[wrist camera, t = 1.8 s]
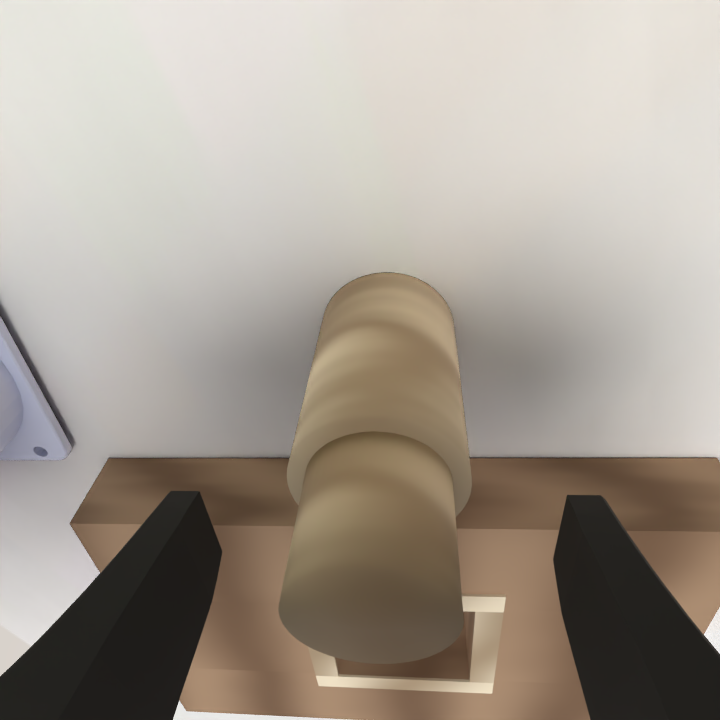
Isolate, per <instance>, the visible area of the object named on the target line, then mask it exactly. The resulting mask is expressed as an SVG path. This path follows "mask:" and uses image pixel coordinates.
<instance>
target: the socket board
mask: <svg viewBox="0 0 720 720" xmlns="http://www.w3.org/2000/svg"><path fill="white" fill-rule="evenodd" d="M288 463H289V458H108V460H107V462H106V463H105V465H104V467H103V469H102V470H101V472H100V474H99V475H98V477H97V479H96V480H95V482H94V484H93V485H92V487H91V489H90V490H89V492H88V494H87V495H86V497H85V499H84V500H83V502H82V504H81V505H80V507H79V509H78V510H77V512H76V514H75V515H74V517H73V519H72V520H71V522H70V525H71V527H72V528H73V530H74V531H75V533H76V535H77V536H78V538H79V539H80V541H81V543H82V544H83V546H84V547H85V549H86V551H87V552H88V554H89V555H90V557H91V559H92V560H93V562H94V563H95V565H96V567H97V568H98V570H99V571H100V573H101V572H102V571H103V570H104V568H105V567H106V566H107V565H108V564H109V563H110V562H111V560H112V559H113V558H114V557H115V556H116V555H117V554H118V552H119V551H120V550H121V549H122V548H123V546H124V545H125V544H126V543H127V542H128V541H129V539H130V538H131V537H132V536H133V535H134V534H135V532H136V531H137V530H138V529H139V528H140V526H141V525H142V524H143V523H144V522H145V520H146V519H147V518H148V517H149V516H150V514H151V513H152V512H153V511H154V510H155V508H156V507H157V506H158V505H159V504H160V502H161V501H162V500H163V499H164V498H165V497H166V495H167V494H168V493H169V492H170V491H200V494H201V496H202V499H203V501H204V504H205V507H206V509H207V512H208V515H209V517H210V520H211V523H212V525H213V528H214V530H215V533H216V536H217V538H218V541H219V544H220V546H221V549H222V557H221V562H220V567H219V572H218V577H217V582H216V586H215V591H214V595H213V600H212V603H211V606H210V610H209V613H208V616H207V619H206V622H205V625H204V628H203V631H202V634H201V637H200V640H199V643H198V646H197V649H196V652H195V655H194V658H193V661H192V664H191V667H190V670H189V673H188V675H187V678H186V681H185V684H184V687H183V690H182V693H181V696H180V699H179V700H180V701H181V703H182V705H183V706H184V708H185V709H186V711H194V712H214V713H234V714H254V715H274V716H294V717H313V718H333V719H353V720H590V716H589V712H588V709H587V705H586V701H585V698H584V694H583V691H582V687H581V683H580V680H579V676H578V672H577V669H576V665H575V661H574V658H573V654H572V650H571V647H570V643H569V639H568V636H567V632H566V628H565V624H564V621H563V617H562V613H561V607H560V601H559V595H558V589H557V583H556V576H555V570H554V563H553V556H554V552H555V547H556V543H557V538H558V534H559V529H560V524H561V520H562V515H563V511H564V506H565V502H566V497H567V495H601V496H602V497H603V498H604V499H606V501H607V502H608V504H609V506H610V507H611V509H612V510H613V512H614V513H615V515H616V516H617V518H618V519H619V521H620V522H621V524H622V525H623V527H624V528H625V530H626V531H627V533H628V534H629V536H630V537H631V539H632V540H633V541H634V543H635V544H636V546H637V547H638V549H639V550H640V551H641V553H642V554H643V556H644V557H645V559H646V560H647V561H648V563H649V564H650V566H651V567H652V568H653V570H654V571H655V572H656V574H657V575H658V576H659V578H660V579H661V581H662V582H663V583H664V585H665V586H666V587H667V588H668V590H669V591H670V592H671V594H672V595H673V596H674V598H675V599H676V600H677V601H678V603H679V604H680V605H681V607H682V608H683V609H684V611H685V612H686V613H687V614H688V616H689V617H690V618H691V620H692V621H693V622H694V623H695V625H696V626H697V627H698V628H699V630H700V631H701V632H702V633H703V635H704V633H705V631H706V630H707V628H708V626H709V624H710V623H711V621H712V619H713V617H714V616H715V614H716V612H717V610H718V609H719V607H720V462H719V461H718V459H717V458H470V467H471V476H472V488H471V494H470V497H469V499H468V502H467V503H466V505H465V507H464V508H463V510H462V511H461V512H460V513H459V514H458V516H456V529H457V541H458V554H459V566H460V579H461V591H462V604H463V611H464V612H463V616H464V625H463V629H462V632H461V634H460V636H459V637H458V638H457V640H456V641H455V642H454V643H453V644H451V645H450V646H449V647H447V648H446V649H445V650H443V651H441V652H439V653H437V654H435V655H432V656H430V657H427V658H423V659H420V660H416V661H411V662H404V663H395V664H371V663H360V662H353V661H348V660H343V659H339V658H336V657H332V656H329V655H326V654H323V653H321V652H319V651H316V650H314V649H312V648H310V647H308V646H306V645H305V644H303V643H302V642H300V641H299V640H297V639H296V638H295V637H294V636H292V635H291V634H290V633H289V632H288V630H287V629H286V628H285V627H284V625H283V624H282V622H281V619H280V617H279V612H278V608H279V600H280V595H281V590H282V585H283V580H284V576H285V571H286V566H287V561H288V556H289V551H290V546H291V541H292V536H293V531H294V526H295V521H296V516H297V511H298V504H297V503H296V501H295V500H294V498H293V496H292V494H291V493H290V490H289V487H288V482H287V467H288Z"/></svg>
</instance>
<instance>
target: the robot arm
mask: <svg viewBox="0 0 720 720" xmlns="http://www.w3.org/2000/svg"><path fill="white" fill-rule="evenodd" d="M71 449H72V448H71V444H70V443H69V441H68V439H67V437H66V435H65V433H64V432H63V430H62V428H61V426H60V424H59V422H58V421H57V419H56V417H55V415H54V413H53V411H52V410H51V408H50V406H49V404H48V402H47V401H46V399H45V397H44V395H43V393H42V391H41V390H40V388H39V386H38V384H37V382H36V380H35V379H34V377H33V375H32V373H31V371H30V369H29V368H28V366H27V364H26V362H25V360H24V359H23V357H22V355H21V353H20V351H19V349H18V348H17V346H16V344H15V342H14V340H13V338H12V337H11V335H10V333H9V331H8V329H7V327H6V326H5V324H4V322H3V320H2V318H1V316H0V460H63V459H65V458H66V457H67V456H68V455H69V453H70V452H71ZM221 557H222V549H221V546H220V544H219V541H218V538H217V536H216V533H215V530H214V528H213V525H212V523H211V520H210V517H209V515H208V512H207V509H206V507H205V504H204V501H203V499H202V496H201V494H200V491H170V492H169V493H168V494H167V495H166V497H165V498H164V499H163V500H162V501H161V502H160V504H159V505H158V506H157V507H156V508H155V510H154V511H153V512H152V513H151V514H150V516H149V517H148V518H147V519H146V520H145V522H144V523H143V524H142V525H141V526H140V528H139V529H138V530H137V531H136V532H135V534H134V535H133V536H132V537H131V538H130V539H129V541H128V542H127V543H126V544H125V545H124V546H123V548H122V549H121V550H120V551H119V552H118V554H117V555H116V556H115V557H114V558H113V559H112V560H111V562H110V563H109V564H108V565H107V566H106V567H105V568H104V570H103V571H102V572H101V573H100V574H99V575H98V576H97V577H96V579H95V580H94V581H93V582H92V583H91V584H90V585H89V587H88V588H87V589H86V590H85V591H84V592H83V593H82V594H81V595H80V596H79V598H78V599H77V600H76V601H75V602H74V603H73V604H72V605H71V606H70V607H69V608H68V609H67V610H66V611H65V612H64V613H63V614H62V615H61V617H60V618H59V619H58V620H57V621H56V622H55V623H54V624H53V625H52V626H51V627H50V628H49V629H48V630H47V631H46V632H45V633H44V634H43V635H42V636H41V637H40V638H39V639H38V640H37V641H36V642H35V643H34V644H33V645H32V646H31V647H30V648H29V649H28V650H27V651H26V652H25V654H23V655H22V656H21V657H20V658H19V659H18V660H17V661H16V662H15V663H14V664H13V665H12V666H11V667H10V668H9V669H8V670H7V671H6V672H4V673H3V674H2V675H1V676H0V720H173V717H174V714H175V711H176V708H177V705H178V702H179V699H180V696H181V693H182V690H183V687H184V684H185V681H186V678H187V675H188V673H189V670H190V667H191V664H192V661H193V658H194V655H195V652H196V649H197V646H198V643H199V640H200V637H201V634H202V631H203V628H204V625H205V622H206V619H207V616H208V613H209V610H210V606H211V603H212V600H213V595H214V591H215V586H216V582H217V577H218V572H219V567H220V562H221ZM553 563H554V570H555V576H556V583H557V589H558V595H559V601H560V607H561V613H562V617H563V621H564V624H565V628H566V632H567V636H568V639H569V643H570V647H571V650H572V654H573V658H574V661H575V665H576V669H577V672H578V676H579V680H580V683H581V687H582V691H583V694H584V698H585V701H586V705H587V709H588V712H589V716H590V720H720V654H719V653H718V651H717V650H716V649H715V648H714V647H713V645H712V644H711V643H710V642H709V641H708V639H707V638H706V637H705V636H704V635H703V633H702V632H701V631H700V630H699V628H698V627H697V626H696V625H695V623H694V622H693V621H692V620H691V618H690V617H689V616H688V614H687V613H686V612H685V611H684V609H683V608H682V607H681V605H680V604H679V603H678V601H677V600H676V599H675V598H674V596H673V595H672V594H671V592H670V591H669V590H668V588H667V587H666V586H665V585H664V583H663V582H662V581H661V579H660V578H659V576H658V575H657V574H656V572H655V571H654V570H653V568H652V567H651V566H650V564H649V563H648V561H647V560H646V559H645V557H644V556H643V554H642V553H641V551H640V550H639V549H638V547H637V546H636V544H635V543H634V541H633V540H632V539H631V537H630V536H629V534H628V533H627V531H626V530H625V528H624V527H623V525H622V524H621V522H620V521H619V519H618V518H617V516H616V515H615V513H614V512H613V510H612V509H611V507H610V506H609V504H608V502H607V501H606V499H604V498H603V497H602V496H601V495H567V497H566V502H565V506H564V511H563V515H562V520H561V524H560V529H559V534H558V538H557V543H556V547H555V552H554V556H553Z"/></svg>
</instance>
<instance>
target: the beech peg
mask: <svg viewBox="0 0 720 720" xmlns="http://www.w3.org/2000/svg"><path fill="white" fill-rule="evenodd" d="M287 482H288V487H289V490H290V493H291V494H292V496H293V498H294V500H295V501H296V503H297V504H298V511H297V516H296V521H295V526H294V531H293V536H292V541H291V546H290V551H289V556H288V561H287V566H286V571H285V576H284V580H283V585H282V590H281V595H280V600H279V608H278V612H279V617H280V619H281V622H282V624H283V625H284V627H285V628H286V629H287V630H288V632H289V633H290V634H291V635H292V636H294V637H295V638H296V639H297V640H299V641H300V642H302V643H303V644H305V645H306V646H308V647H310V648H312V649H314V650H316V651H319V652H321V653H323V654H326V655H329V656H332V657H336V658H339V659H343V660H348V661H353V662H360V663H371V664H395V663H404V662H411V661H416V660H420V659H423V658H427V657H430V656H432V655H435V654H437V653H439V652H441V651H443V650H445V649H446V648H447V647H449V646H450V645H451V644H453V643H454V642H455V641H456V640H457V638H458V637H459V636H460V634H461V632H462V629H463V625H464V616H463V604H462V591H461V579H460V566H459V554H458V541H457V529H456V516H458V514H459V513H460V512H461V511H462V510H463V508H464V507H465V505H466V503H467V502H468V499H469V497H470V494H471V488H472V476H471V467H470V458H469V450H468V441H467V433H466V424H465V416H464V407H463V398H462V390H461V381H460V373H459V364H458V356H457V347H456V338H455V330H454V322H453V317H452V314H451V311H450V309H449V307H448V305H447V303H446V301H445V300H444V299H443V298H442V296H441V295H440V294H439V293H438V292H437V291H436V290H435V289H434V288H432V287H431V286H429V285H428V284H426V283H425V282H423V281H421V280H419V279H416V278H414V277H411V276H408V275H404V274H398V273H375V274H370V275H366V276H363V277H360V278H357V279H355V280H353V281H351V282H349V283H348V284H346V285H345V286H343V287H342V288H341V289H340V290H339V291H338V292H337V293H336V294H335V295H334V296H333V297H332V299H331V300H330V302H329V303H328V305H327V307H326V310H325V312H324V316H323V320H322V324H321V329H320V333H319V337H318V341H317V345H316V350H315V354H314V358H313V362H312V366H311V371H310V375H309V379H308V383H307V387H306V391H305V396H304V400H303V404H302V408H301V412H300V417H299V421H298V425H297V429H296V433H295V438H294V442H293V446H292V450H291V454H290V458H289V463H288V467H287Z"/></svg>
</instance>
